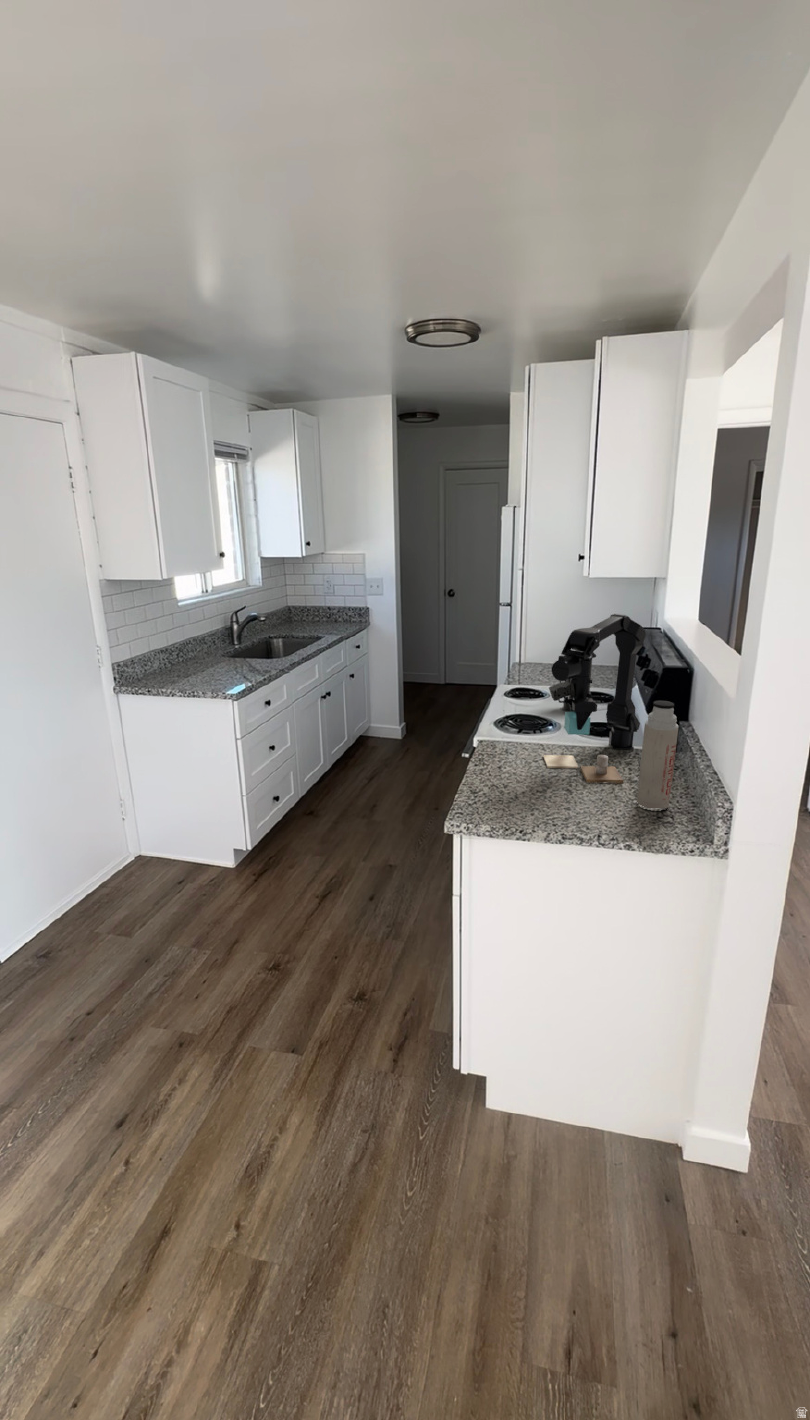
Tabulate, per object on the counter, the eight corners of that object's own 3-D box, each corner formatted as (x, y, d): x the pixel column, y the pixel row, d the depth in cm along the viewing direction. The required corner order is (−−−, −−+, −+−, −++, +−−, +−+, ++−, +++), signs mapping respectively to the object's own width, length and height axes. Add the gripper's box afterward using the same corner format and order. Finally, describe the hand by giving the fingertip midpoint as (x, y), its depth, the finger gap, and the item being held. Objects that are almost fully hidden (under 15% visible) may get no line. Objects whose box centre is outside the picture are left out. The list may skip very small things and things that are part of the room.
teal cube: (584, 727, 199) (585, 711, 197) (589, 734, 193) (590, 718, 192) (564, 727, 199) (565, 711, 198) (568, 734, 193) (569, 718, 192)
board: (572, 757, 207) (572, 755, 207) (578, 768, 199) (578, 766, 198) (543, 756, 208) (543, 755, 207) (547, 767, 199) (547, 766, 199)
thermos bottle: (675, 807, 173) (688, 704, 164) (653, 814, 169) (665, 709, 161) (651, 796, 180) (663, 696, 171) (629, 802, 176) (640, 700, 168)
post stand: (614, 769, 198) (616, 750, 196) (623, 783, 188) (625, 763, 186) (580, 769, 198) (581, 750, 196) (587, 782, 189) (588, 762, 187)
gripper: (546, 666, 200) (543, 716, 205) (558, 683, 182) (555, 736, 187) (584, 666, 200) (580, 716, 205) (599, 683, 182) (595, 737, 187)
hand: (576, 726), depth 196 cm, fingers closed on teal cube, 6 cm apart
